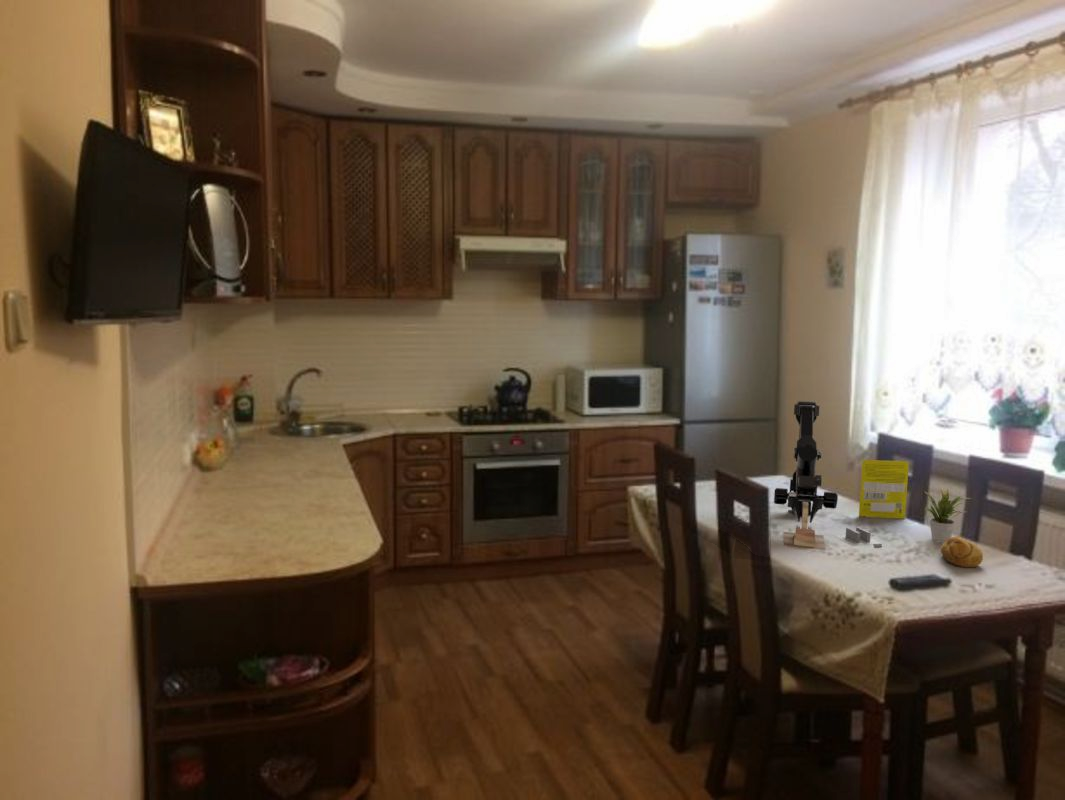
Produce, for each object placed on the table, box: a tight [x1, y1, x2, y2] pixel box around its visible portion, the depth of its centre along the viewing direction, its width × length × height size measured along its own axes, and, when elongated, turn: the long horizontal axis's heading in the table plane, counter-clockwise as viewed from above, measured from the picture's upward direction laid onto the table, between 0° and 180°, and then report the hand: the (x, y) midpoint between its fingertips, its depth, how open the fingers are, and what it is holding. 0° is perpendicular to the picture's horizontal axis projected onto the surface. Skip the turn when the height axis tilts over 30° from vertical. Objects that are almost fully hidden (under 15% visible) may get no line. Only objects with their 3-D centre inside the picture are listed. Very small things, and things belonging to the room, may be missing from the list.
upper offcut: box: [794, 528, 816, 540], centre depth 251 cm, size 4×5×2 cm, turn 74°
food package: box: [858, 459, 910, 519], centre depth 285 cm, size 15×1×20 cm, turn 84°
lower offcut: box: [794, 534, 816, 547], centre depth 252 cm, size 4×6×2 cm, turn 74°
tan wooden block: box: [800, 502, 809, 529], centre depth 257 cm, size 4×2×11 cm, turn 164°
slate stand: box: [834, 526, 883, 548], centre depth 257 cm, size 10×10×4 cm
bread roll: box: [940, 536, 984, 568], centre depth 240 cm, size 13×10×8 cm
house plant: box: [923, 488, 973, 543], centre depth 259 cm, size 14×14×16 cm
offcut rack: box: [782, 525, 827, 551], centre depth 256 cm, size 15×12×4 cm
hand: (804, 521), depth 256 cm, fingers open, 3 cm apart
